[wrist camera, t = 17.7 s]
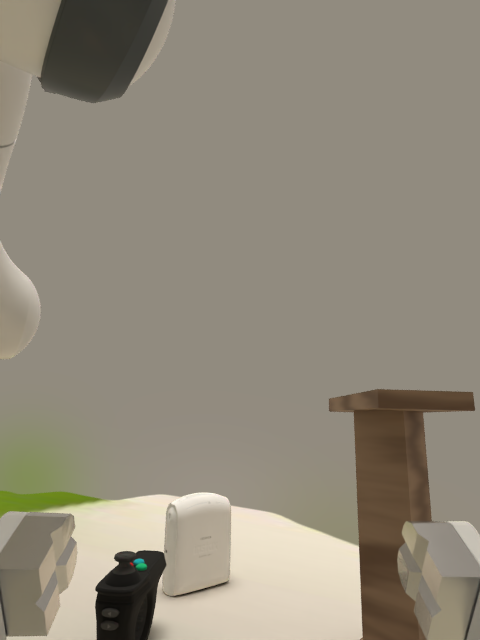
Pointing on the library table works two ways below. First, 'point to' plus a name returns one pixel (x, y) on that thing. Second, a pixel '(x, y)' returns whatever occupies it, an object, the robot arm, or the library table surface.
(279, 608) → the library table surface
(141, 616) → the controller
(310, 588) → the library table surface
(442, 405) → the post
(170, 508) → the photo printer
